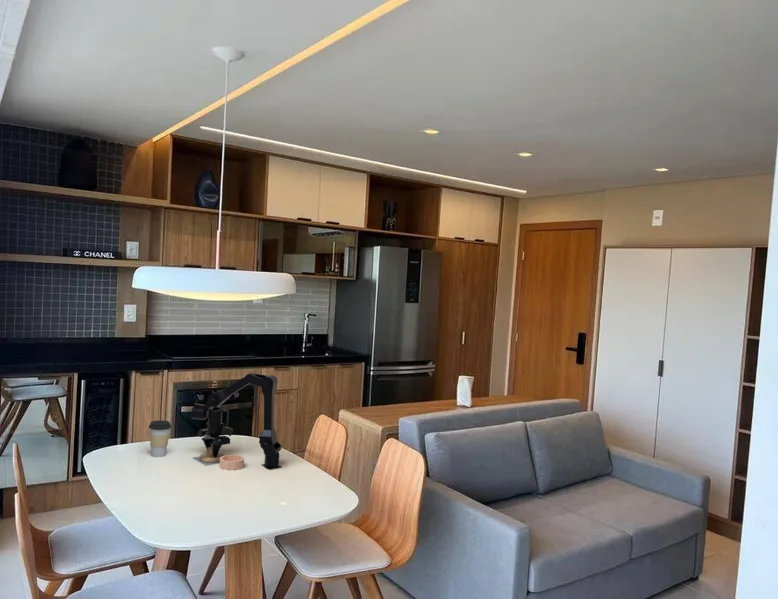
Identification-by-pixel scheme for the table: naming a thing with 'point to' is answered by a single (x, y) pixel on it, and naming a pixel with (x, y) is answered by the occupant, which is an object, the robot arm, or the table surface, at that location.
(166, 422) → the coffee cup
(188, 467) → the table surface
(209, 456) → the lid
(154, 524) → the table surface
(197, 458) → the mat
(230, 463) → the bowl
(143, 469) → the table surface
